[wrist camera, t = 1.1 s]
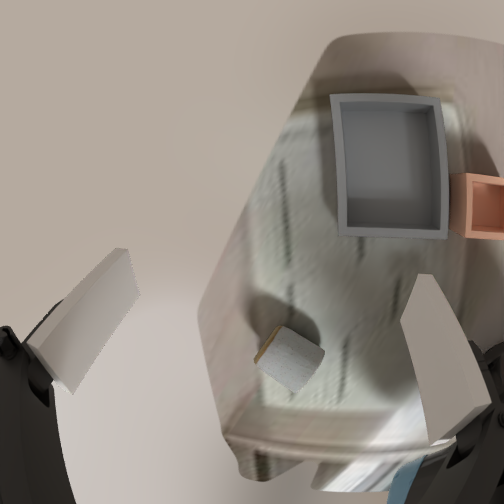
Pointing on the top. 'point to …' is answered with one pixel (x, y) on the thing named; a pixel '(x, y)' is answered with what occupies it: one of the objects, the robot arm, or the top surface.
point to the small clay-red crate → (477, 206)
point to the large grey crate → (390, 166)
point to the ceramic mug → (289, 358)
